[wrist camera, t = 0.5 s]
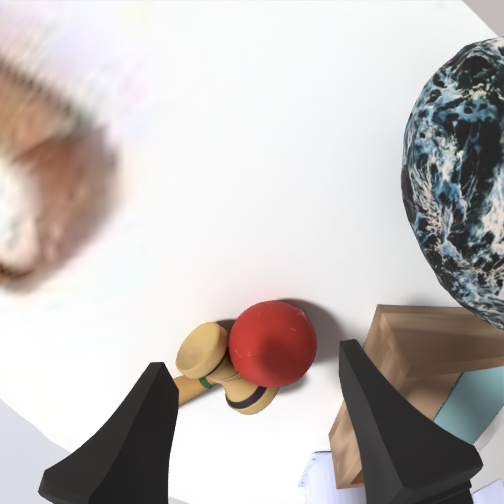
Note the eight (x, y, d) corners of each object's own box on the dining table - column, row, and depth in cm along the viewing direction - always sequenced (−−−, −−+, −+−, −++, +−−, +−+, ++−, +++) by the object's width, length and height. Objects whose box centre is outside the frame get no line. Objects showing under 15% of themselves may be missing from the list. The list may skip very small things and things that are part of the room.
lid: (433, 418, 28) (474, 436, 24) (429, 426, 27) (472, 444, 23) (487, 320, 23) (537, 341, 19) (486, 327, 22) (538, 348, 18)
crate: (419, 426, 28) (436, 472, 22) (328, 434, 29) (336, 489, 22) (483, 307, 22) (524, 353, 16) (377, 304, 22) (410, 365, 16)
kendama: (190, 408, 30) (341, 342, 23) (164, 450, 24) (338, 399, 17) (140, 355, 29) (282, 264, 22) (105, 393, 23) (260, 305, 16)
